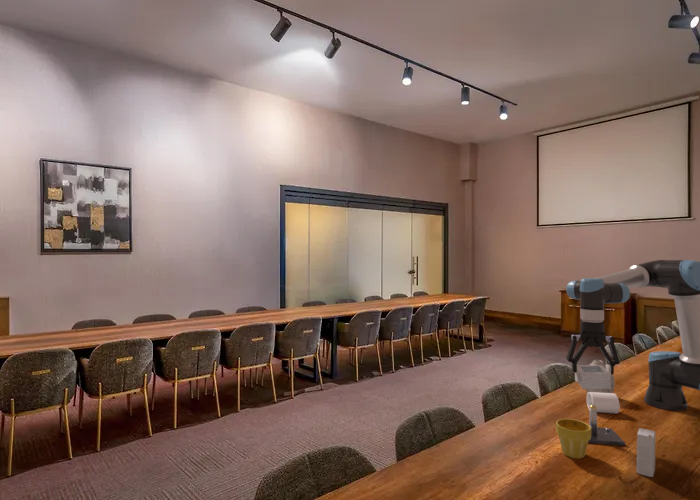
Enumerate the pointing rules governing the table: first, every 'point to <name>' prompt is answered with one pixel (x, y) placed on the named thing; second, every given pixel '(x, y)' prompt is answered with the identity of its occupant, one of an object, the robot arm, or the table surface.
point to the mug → (603, 402)
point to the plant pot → (573, 437)
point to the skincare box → (646, 452)
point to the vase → (598, 362)
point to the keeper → (602, 431)
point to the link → (594, 377)
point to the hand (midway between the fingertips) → (592, 382)
